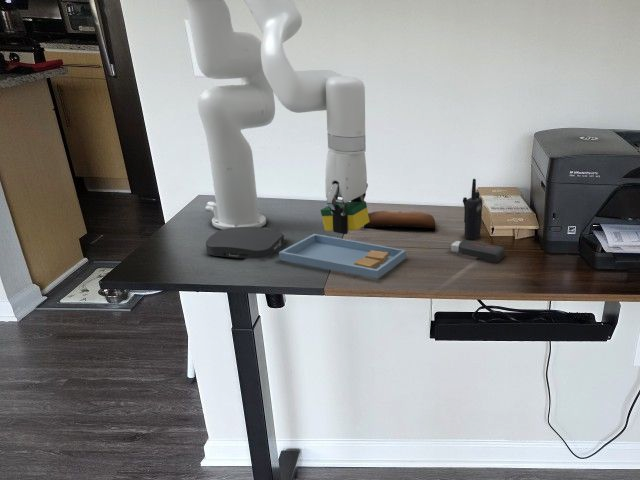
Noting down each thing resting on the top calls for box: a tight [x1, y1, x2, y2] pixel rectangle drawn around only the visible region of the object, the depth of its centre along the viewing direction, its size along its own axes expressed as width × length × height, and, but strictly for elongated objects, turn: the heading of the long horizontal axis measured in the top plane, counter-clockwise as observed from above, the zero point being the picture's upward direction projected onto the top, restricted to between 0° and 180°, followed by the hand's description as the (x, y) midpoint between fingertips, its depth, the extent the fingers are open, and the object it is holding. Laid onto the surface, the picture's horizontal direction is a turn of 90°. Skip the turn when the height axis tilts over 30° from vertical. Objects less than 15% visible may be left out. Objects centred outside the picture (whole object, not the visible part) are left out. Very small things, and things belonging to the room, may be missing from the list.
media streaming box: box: [205, 226, 285, 259], centre depth 152 cm, size 15×15×3 cm
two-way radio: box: [462, 178, 483, 241], centre depth 167 cm, size 6×4×15 cm
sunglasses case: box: [363, 210, 436, 231], centre depth 173 cm, size 18×7×7 cm
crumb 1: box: [354, 257, 380, 269], centre depth 146 cm, size 4×4×1 cm
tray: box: [278, 233, 407, 280], centre depth 150 cm, size 23×14×2 cm, turn 73°
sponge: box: [320, 200, 370, 232], centre depth 145 cm, size 8×6×4 cm
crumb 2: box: [365, 250, 388, 264], centre depth 150 cm, size 4×4×1 cm
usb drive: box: [450, 239, 506, 264], centre depth 159 cm, size 5×12×3 cm, turn 70°
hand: (348, 227), depth 146 cm, fingers closed on sponge, 6 cm apart
